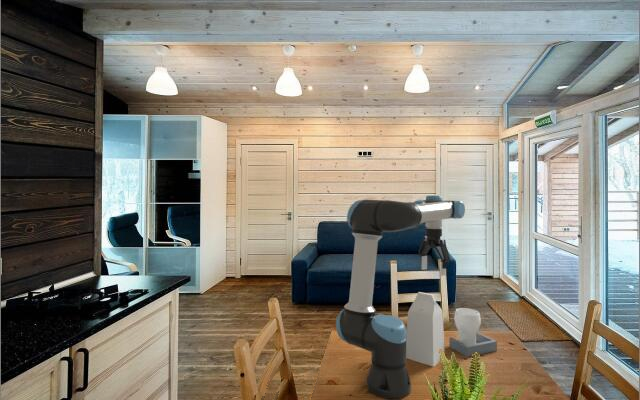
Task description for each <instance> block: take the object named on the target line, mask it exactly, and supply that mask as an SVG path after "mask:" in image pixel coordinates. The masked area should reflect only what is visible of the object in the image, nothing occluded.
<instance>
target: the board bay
mask: <svg viewBox="0 0 640 400" xmlns="http://www.w3.org/2000/svg"><path fill="white" fill-rule="evenodd" d="M475 339H476V344H471V345H465V344H463V343H461V342H459V341H458V339H455V338H454V337H450V336H449V339H448V341H449V342H448V343H449V344H448V345H449V346H448V347H449V348H451V349H453V350H454V351H456V352H458V353H460V354H461V355H463V356H465V357H466V358H470V357H473V356H472V354H473V353H475V352H478V353H479V355H483V354H484V355H485V354H487V353H492V352H493V353H494V352H497V351H498V341H497V340H495V339H493V338H492V337H489V336H486V335H485V334H482V333H480V332H479V331H477V333H476V338H475Z"/></svg>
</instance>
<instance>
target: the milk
mask: <svg viewBox="0 0 640 400" xmlns="http://www.w3.org/2000/svg"><path fill="white" fill-rule="evenodd" d="M406 320H407V321H406V335H407V339H406V359H408V360H411V361H413V362H414V361H415V362H416V363H417V362H418V363H421V364H423V365H428V366H429V367H430V366H431V367H435V366H436V365H437V364H439V362H440V361H441V360H440V353H439V348H441V349H442V350H443V351H444V352H445V338H444V337H445V335H444V334H445V332H444V330H445V329H444V311H443V310H442V308H441V306H440V305H439V304H438V302H436V299H435V296H434V294H432V293H427V292H421V291H418V292H417V294H416V296H415V298H414V300H413V302H412V303H411V306H410V307H409V309H408V312H407V318H406Z"/></svg>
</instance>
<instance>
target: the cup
mask: <svg viewBox="0 0 640 400" xmlns="http://www.w3.org/2000/svg"><path fill="white" fill-rule="evenodd" d="M481 321H482V318H481V314H480V311H478V310H477V309H473V308H468V307H459V308H456V309H455V311H454V324H455V328H456V329H457V331H458V332H457V333H458V338H457V341H459V342H461V343H463V344H465V345H471V344H476V343H477V342H476V333H477V332H479V329H480V327H481V323H482V322H481Z"/></svg>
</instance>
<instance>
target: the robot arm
mask: <svg viewBox="0 0 640 400" xmlns="http://www.w3.org/2000/svg"><path fill="white" fill-rule="evenodd" d="M465 213H466V207H465V203H464V202H463V201H462V200H443V197H442V196H441V195H426V197H425V199H418V200H414V201H410V202H409V201H408V202H405V201H397V200H385V199H383V200H382V199H359V200H356V201H354V202H353V203H352V204H351V205H350V206H349V208H348V211H347V215H346V221H347V223H348V227H350V229H352V230H351V234H352V236H353V237H354V248H353V258H352V267H351V278H350V288H349V295H348V296H349V299H348V302H347V303H346V304H345V305H344V306H343V307H344V308H343V309H342V310H341V311H340V312H339V313H338V315H337V317H336V319H335V328H336V333H337V335H338V336H339V338H340V339H341V340H342V342H343V341H344V342H345V343H347V344H348V345H352V346H355V347H357V348H360V349H363V350H365V351H368V352H370V353H371V364H370V367H369V370H368V373H367V376H366V388H367V390H368V391H369V392H370V393H371V394H373V395H374V396H376V397H379V398H382V399H389V400H390V399H391V400H398V399H402V398H405V397H407V396H409V395H410V393H411V391H412V381H411V378H410V375H409V371H408V369H407V358H406V339H407V335H406V332H407V326H406V324H405V322H403V320H401V319H400V318H398V317H397V316H394V315H391V314H385V313H384V314H383V313H382V314H381V313H380V314H376V309H375V308H374V306H373V298H374V297H373V295H374V288H375V275H376V264H377V257H378V256H377V255H378V254H377V253H378V246H379V245H378V244H379V241H380V240H381V239H382V238H383V236H384V235H383V234H384V233H395V232H400V231H405V230H409V229H414V228H417V227H418V226H419V225H421V224H425V234H424V235H425V236H422V240H421V244H420V246H419V248H418V255H420V259H421V261H420V262H421V270H422V271H424V270H428V255H427V254H428V253H429V252H430V249H431V248H433V249H435V250H436V252H437V254H438V256H439V258H440V262H439V267H440V268H439V275H440V276H442V277H443V276H444V277H445V276H446V275H447V263H448V262H449V261H451V256H450V253H449V250H448V247H447V245H446V244H447V243H446V242H447V241H446V239H441V238H442V236H443V228H442V227H443V220H447V219H448V220H449V219H454V220H456V219H462V218H463V217H464V216H465Z"/></svg>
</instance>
